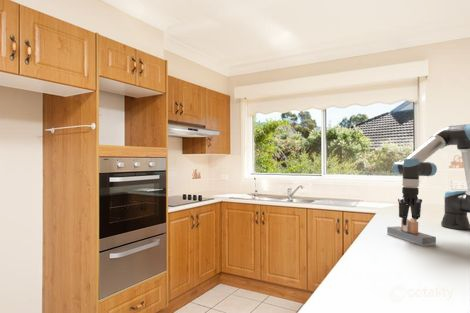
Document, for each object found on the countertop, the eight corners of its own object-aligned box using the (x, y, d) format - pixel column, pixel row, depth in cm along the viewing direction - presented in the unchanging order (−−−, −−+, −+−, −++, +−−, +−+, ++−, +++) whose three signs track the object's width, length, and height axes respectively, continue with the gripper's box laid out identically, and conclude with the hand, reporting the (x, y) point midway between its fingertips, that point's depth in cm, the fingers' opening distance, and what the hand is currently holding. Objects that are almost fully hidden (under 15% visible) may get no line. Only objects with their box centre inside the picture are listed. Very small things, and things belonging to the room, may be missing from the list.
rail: (399, 233, 175) (399, 226, 175) (435, 245, 152) (435, 237, 152) (387, 234, 173) (387, 226, 173) (422, 246, 150) (422, 237, 150)
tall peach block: (405, 235, 167) (406, 218, 167) (418, 239, 159) (418, 221, 159) (401, 235, 166) (401, 219, 166) (413, 239, 158) (413, 222, 158)
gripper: (417, 186, 168) (416, 229, 168) (391, 186, 164) (390, 229, 164) (429, 187, 161) (428, 232, 161) (402, 187, 157) (401, 233, 157)
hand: (409, 231), depth 162 cm, fingers open, 4 cm apart
